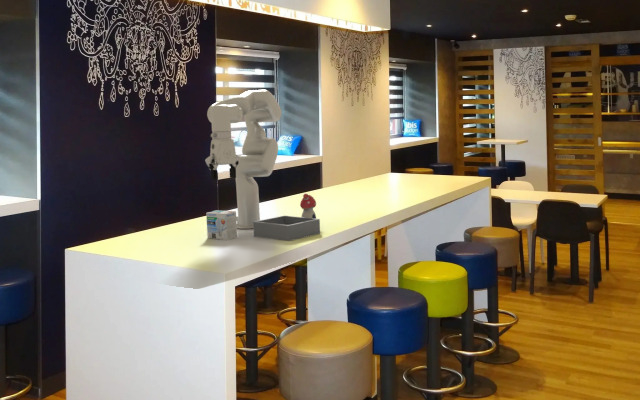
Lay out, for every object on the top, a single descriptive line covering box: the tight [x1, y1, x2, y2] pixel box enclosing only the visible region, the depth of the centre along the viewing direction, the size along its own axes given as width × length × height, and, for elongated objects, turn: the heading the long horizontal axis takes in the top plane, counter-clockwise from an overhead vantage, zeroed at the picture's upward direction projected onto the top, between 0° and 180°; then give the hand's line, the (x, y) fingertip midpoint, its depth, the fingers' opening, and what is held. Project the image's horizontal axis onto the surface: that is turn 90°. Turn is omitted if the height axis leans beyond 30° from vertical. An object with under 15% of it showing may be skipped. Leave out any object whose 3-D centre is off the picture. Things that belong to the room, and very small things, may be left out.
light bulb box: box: [205, 209, 238, 241], centre depth 283 cm, size 11×7×11 cm, turn 58°
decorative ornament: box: [299, 193, 317, 219], centre depth 299 cm, size 9×7×15 cm
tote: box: [253, 214, 321, 242], centre depth 284 cm, size 20×18×6 cm
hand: (223, 178), depth 281 cm, fingers open, 9 cm apart
